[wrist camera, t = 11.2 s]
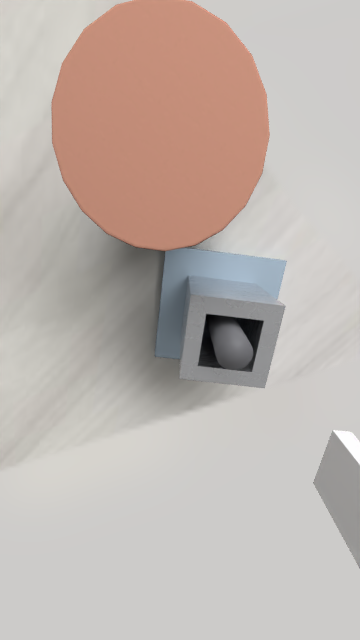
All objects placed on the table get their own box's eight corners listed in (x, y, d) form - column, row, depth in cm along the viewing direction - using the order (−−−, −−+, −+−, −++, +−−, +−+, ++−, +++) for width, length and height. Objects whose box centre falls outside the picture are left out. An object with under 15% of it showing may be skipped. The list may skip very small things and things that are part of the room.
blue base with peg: (155, 353, 37) (141, 416, 24) (166, 245, 32) (157, 255, 20) (258, 365, 37) (297, 433, 25) (283, 260, 33) (345, 278, 20)
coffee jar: (220, 238, 32) (263, 248, 15) (128, 241, 32) (67, 254, 15) (221, 131, 29) (280, -14, 12) (119, 135, 29) (28, -2, 12)
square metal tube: (180, 337, 35) (179, 378, 25) (188, 275, 32) (191, 294, 23) (242, 345, 35) (264, 388, 26) (255, 283, 33) (285, 305, 23)
